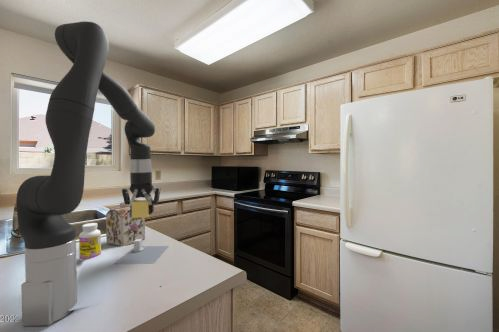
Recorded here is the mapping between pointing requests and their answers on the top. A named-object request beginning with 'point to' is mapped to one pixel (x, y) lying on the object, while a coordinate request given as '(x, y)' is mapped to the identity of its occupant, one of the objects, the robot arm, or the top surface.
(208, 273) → the top surface
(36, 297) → the robot arm
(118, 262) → the plate
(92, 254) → the supplement bottle
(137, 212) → the yellow cube
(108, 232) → the decorative jar
